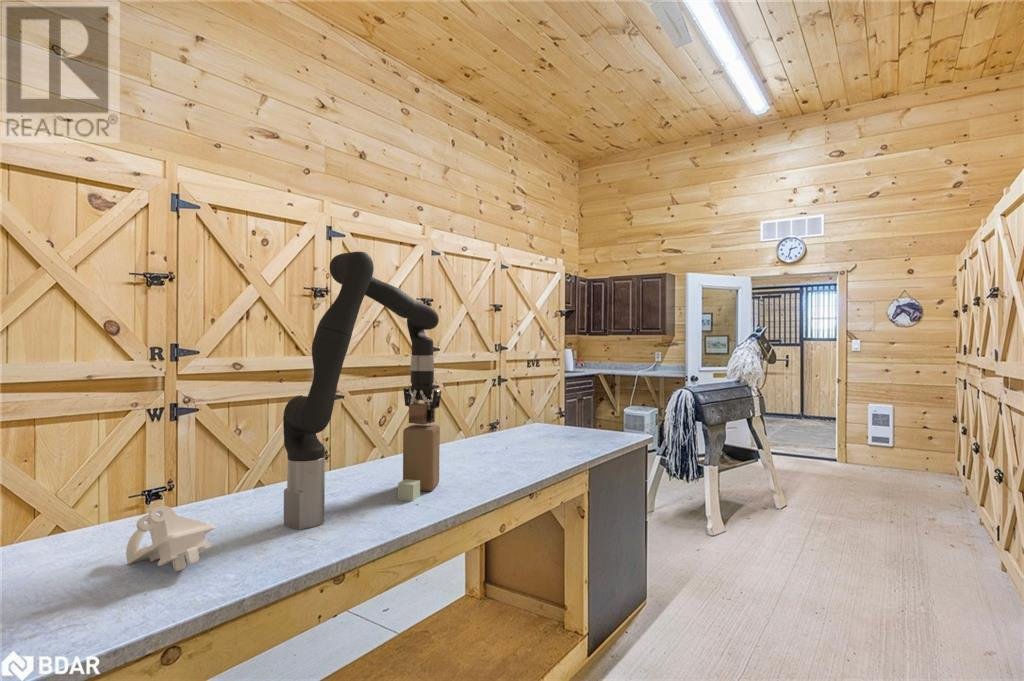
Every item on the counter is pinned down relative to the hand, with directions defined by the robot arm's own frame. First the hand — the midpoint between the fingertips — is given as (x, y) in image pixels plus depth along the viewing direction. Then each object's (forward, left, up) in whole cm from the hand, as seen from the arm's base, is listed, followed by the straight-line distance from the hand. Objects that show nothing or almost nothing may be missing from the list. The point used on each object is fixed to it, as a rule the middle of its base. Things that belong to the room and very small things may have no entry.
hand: (421, 420), depth 175 cm
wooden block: (0, 0, -22) cm, 22 cm away
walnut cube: (0, 0, -1) cm, 1 cm away
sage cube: (-11, -4, -22) cm, 25 cm away
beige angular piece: (-74, +9, -22) cm, 78 cm away
